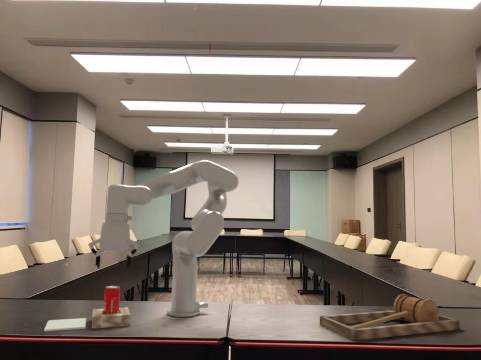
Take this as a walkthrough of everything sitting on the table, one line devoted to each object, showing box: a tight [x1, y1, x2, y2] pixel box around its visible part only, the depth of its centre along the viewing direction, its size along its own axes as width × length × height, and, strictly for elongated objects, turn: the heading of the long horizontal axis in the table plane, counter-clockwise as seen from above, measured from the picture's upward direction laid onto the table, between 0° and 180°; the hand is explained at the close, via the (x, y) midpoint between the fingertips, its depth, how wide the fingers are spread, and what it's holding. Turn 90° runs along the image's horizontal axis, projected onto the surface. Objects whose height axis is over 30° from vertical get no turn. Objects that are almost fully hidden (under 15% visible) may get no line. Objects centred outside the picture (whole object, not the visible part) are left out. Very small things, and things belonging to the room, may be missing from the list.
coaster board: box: [43, 317, 87, 333], centre depth 125 cm, size 12×12×1 cm
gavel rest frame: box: [319, 309, 461, 341], centre depth 132 cm, size 45×19×3 cm, turn 111°
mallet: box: [350, 293, 440, 329], centre depth 132 cm, size 12×38×10 cm, turn 113°
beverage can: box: [103, 285, 121, 314], centre depth 130 cm, size 5×5×12 cm
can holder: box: [91, 306, 132, 329], centre depth 130 cm, size 12×12×4 cm
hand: (112, 267), depth 132 cm, fingers open, 9 cm apart
